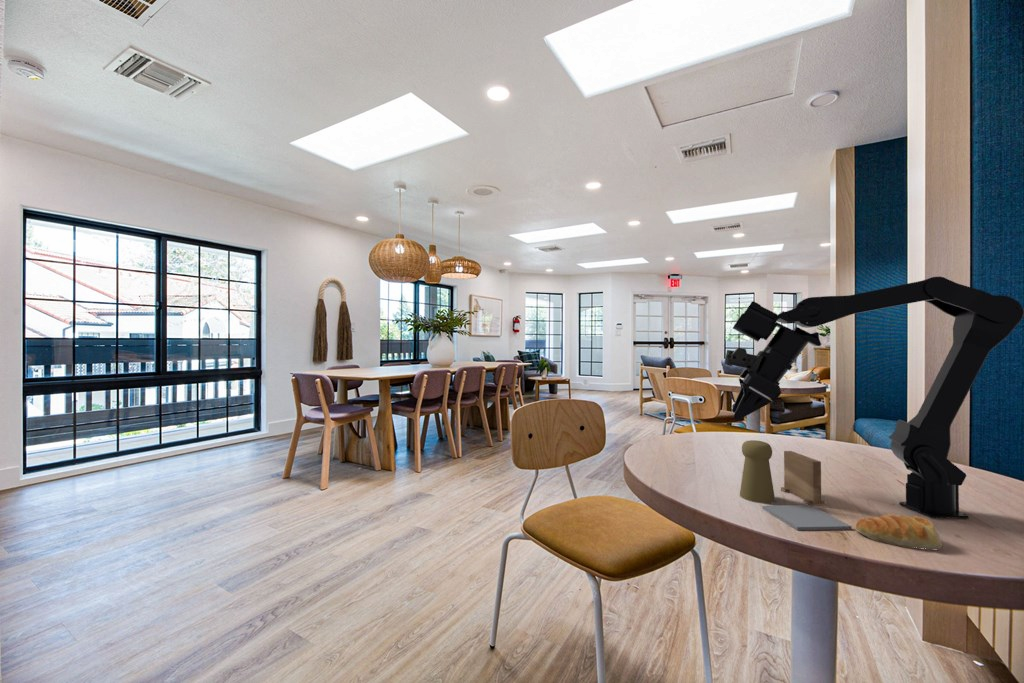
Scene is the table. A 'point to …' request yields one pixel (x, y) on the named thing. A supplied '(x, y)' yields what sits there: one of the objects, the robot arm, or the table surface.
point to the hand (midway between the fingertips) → (734, 415)
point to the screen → (802, 477)
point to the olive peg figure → (757, 472)
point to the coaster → (806, 517)
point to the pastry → (900, 531)
